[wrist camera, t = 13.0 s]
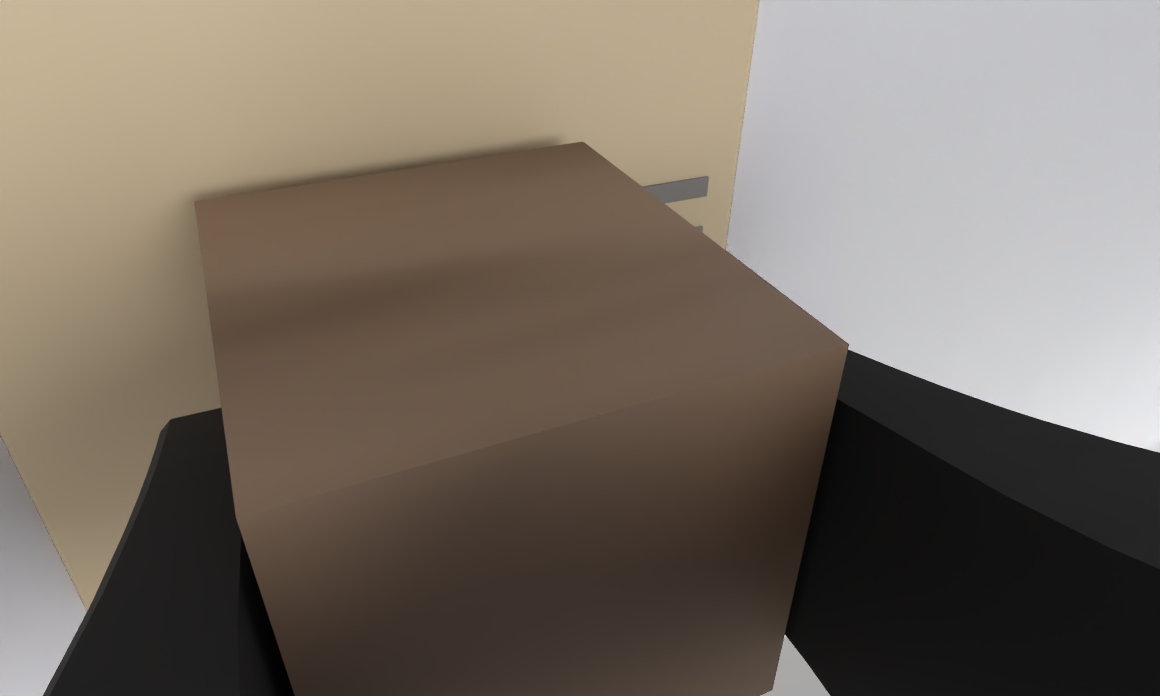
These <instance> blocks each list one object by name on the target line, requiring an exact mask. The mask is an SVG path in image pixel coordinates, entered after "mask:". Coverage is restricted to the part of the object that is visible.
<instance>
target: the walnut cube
mask: <svg viewBox="0 0 1160 696" xmlns="http://www.w3.org/2000/svg"><path fill="white" fill-rule="evenodd" d="M194 205H195V212H196V220H197V227H198V235H199V242H200V250H201V258H202V265H203V273H204V280H205V288H206V295H207V303H208V310H209V318H210V325H211V333H212V340H213V348H214V356H215V363H216V371H217V378H218V386H219V393H220V401H221V408H222V416H223V423H224V431H225V439H226V446H227V454H228V461H229V469H230V476H231V484H232V491H233V499H234V506H235V514H236V519H237V522H238V525H239V528H240V531H241V534H242V537H243V541H244V544H245V547H246V550H247V553H248V556H249V559H250V562H251V565H252V568H253V571H254V574H255V577H256V580H257V583H258V586H259V589H260V592H261V595H262V598H263V601H264V604H265V607H266V610H267V613H268V616H269V619H270V622H271V625H272V628H273V631H274V634H275V637H276V640H277V644H278V647H279V650H280V653H281V656H282V659H283V662H284V665H285V668H286V671H287V674H288V677H289V680H290V683H291V686H292V689H293V692H294V695H295V696H760V695H762V694H765V693H767V692H769V691H771V690H772V689H773V684H774V680H775V675H776V671H777V666H778V661H779V657H780V653H781V648H782V644H783V639H784V635H785V630H786V626H787V621H788V617H789V612H790V608H791V603H792V599H793V594H794V590H795V585H796V581H797V576H798V572H799V567H800V563H801V558H802V554H803V549H804V544H805V540H806V535H807V531H808V526H809V522H810V517H811V513H812V508H813V504H814V499H815V495H816V490H817V486H818V481H819V477H820V472H821V468H822V463H823V459H824V454H825V450H826V445H827V441H828V436H829V432H830V427H831V423H832V418H833V414H834V409H835V405H836V400H837V396H838V391H839V387H840V382H841V378H842V373H843V369H844V364H845V360H846V355H847V351H848V346H849V344H848V343H847V342H845V341H844V340H843V339H841V338H840V337H839V336H837V335H836V334H835V333H833V332H832V331H831V330H829V329H828V328H827V327H826V326H824V325H823V324H822V323H820V322H819V321H818V320H816V319H815V318H814V317H812V316H811V315H810V314H809V313H807V312H806V311H805V310H803V309H802V308H801V307H799V306H798V305H797V304H795V303H794V302H793V301H791V300H790V299H789V298H788V297H786V296H785V295H784V294H782V293H781V292H780V291H778V290H777V289H776V288H774V287H773V286H772V285H771V284H769V283H768V282H767V281H765V280H764V279H763V278H761V277H760V276H759V275H757V274H756V273H755V272H753V271H752V270H751V269H750V268H748V267H747V266H746V265H744V264H743V263H742V262H740V261H739V260H738V259H736V258H735V257H734V256H733V255H731V254H730V253H729V252H727V251H726V250H725V249H723V248H722V247H721V246H719V245H718V244H717V243H715V242H714V241H713V240H712V239H710V238H709V237H708V236H706V235H705V234H704V233H702V232H701V231H700V230H698V229H697V228H696V227H694V226H693V225H692V224H691V223H689V222H688V221H687V220H685V219H684V218H683V217H681V216H680V215H679V214H677V213H676V212H675V211H674V210H672V209H671V208H670V207H668V206H667V205H666V204H664V203H663V202H662V201H660V200H659V199H658V198H656V197H655V196H654V195H653V194H651V193H650V192H649V191H647V190H646V189H645V188H643V187H642V186H641V185H639V184H638V183H637V182H636V181H634V180H633V179H632V178H630V177H629V176H628V175H626V174H625V173H624V172H622V171H621V170H620V169H618V168H617V167H616V166H615V165H613V164H612V163H611V162H609V161H608V160H607V159H605V158H604V157H603V156H601V155H600V154H599V153H598V152H596V151H595V150H594V149H592V148H591V147H590V146H588V145H587V144H586V143H584V142H576V143H570V144H563V145H557V146H550V147H544V148H537V149H531V150H524V151H518V152H512V153H505V154H499V155H492V156H486V157H479V158H473V159H466V160H460V161H453V162H447V163H441V164H434V165H428V166H421V167H415V168H408V169H402V170H395V171H389V172H382V173H376V174H369V175H363V176H357V177H350V178H344V179H337V180H331V181H324V182H318V183H311V184H305V185H298V186H292V187H286V188H279V189H273V190H266V191H260V192H253V193H247V194H240V195H234V196H227V197H221V198H215V199H208V200H202V201H195V202H194Z"/></svg>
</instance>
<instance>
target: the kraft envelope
mask: <svg viewBox="0 0 1160 696" xmlns="http://www.w3.org/2000/svg"><path fill="white" fill-rule="evenodd" d="M758 7H759V0H0V435H1V437H2V439H3V441H4V443H5V445H6V447H7V449H8V451H9V453H10V456H11V458H12V460H13V462H14V464H15V466H16V468H17V470H18V472H19V474H20V476H21V478H22V480H23V482H24V484H25V486H26V488H27V490H28V492H29V494H30V496H31V498H32V500H33V502H34V504H35V506H36V508H37V511H38V513H39V515H40V517H41V519H42V521H43V523H44V525H45V527H46V529H47V531H48V533H49V535H50V537H51V539H52V541H53V543H54V545H55V547H56V549H57V551H58V553H59V555H60V557H61V559H62V561H63V563H64V566H65V568H66V570H67V572H68V574H69V576H70V578H71V580H72V582H73V584H74V586H75V588H76V590H77V592H78V594H79V596H80V598H81V600H82V602H83V604H84V606H85V608H86V610H87V611H88V609H89V607H90V605H91V603H92V601H93V599H94V596H95V594H96V592H97V590H98V588H99V586H100V583H101V581H102V579H103V577H104V575H105V572H106V570H107V568H108V566H109V564H110V561H111V559H112V557H113V555H114V553H115V550H116V548H117V546H118V544H119V542H120V539H121V537H122V535H123V533H124V531H125V528H126V526H127V523H128V521H129V518H130V516H131V513H132V511H133V508H134V506H135V503H136V501H137V499H138V496H139V493H140V491H141V488H142V486H143V483H144V480H145V478H146V475H147V472H148V469H149V466H150V463H151V460H152V457H153V454H154V451H155V448H156V445H157V441H158V438H159V434H160V431H161V430H162V429H163V428H164V426H165V425H166V424H167V423H168V421H169V420H170V419H173V418H177V417H182V416H186V415H191V414H195V413H200V412H204V411H209V410H213V409H217V408H221V401H220V393H219V386H218V378H217V371H216V363H215V356H214V348H213V340H212V333H211V325H210V318H209V310H208V303H207V295H206V288H205V280H204V273H203V265H202V258H201V250H200V242H199V235H198V227H197V220H196V212H195V205H194V202H195V201H202V200H208V199H215V198H221V197H227V196H234V195H240V194H247V193H253V192H260V191H266V190H273V189H279V188H286V187H292V186H298V185H305V184H311V183H318V182H324V181H331V180H337V179H344V178H350V177H357V176H363V175H369V174H376V173H382V172H389V171H395V170H402V169H408V168H415V167H421V166H428V165H434V164H441V163H447V162H453V161H460V160H466V159H473V158H479V157H486V156H492V155H499V154H505V153H512V152H518V151H524V150H531V149H537V148H544V147H550V146H557V145H563V144H570V143H576V142H584V143H586V144H587V145H588V146H590V147H591V148H592V149H594V150H595V151H596V152H598V153H599V154H600V155H601V156H603V157H604V158H605V159H607V160H608V161H609V162H611V163H612V164H613V165H615V166H616V167H617V168H618V169H620V170H621V171H622V172H624V173H625V174H626V175H628V176H629V177H630V178H632V179H633V180H634V181H636V182H637V183H638V184H639V185H641V186H642V187H643V188H645V189H646V190H647V191H649V192H650V193H651V194H653V195H654V196H655V197H656V198H658V199H659V200H660V201H662V202H663V203H664V204H666V205H667V206H668V207H670V208H671V209H672V210H674V211H675V212H676V213H677V214H679V215H680V216H681V217H683V218H684V219H685V220H687V221H688V222H689V223H691V224H692V225H693V226H694V227H696V228H697V229H698V230H700V231H701V232H702V233H704V234H705V235H706V236H708V237H709V238H710V239H712V240H713V241H714V242H715V243H717V244H718V245H719V246H721V247H722V248H723V249H725V248H726V241H727V234H728V226H729V219H730V212H731V204H732V197H733V190H734V182H735V175H736V168H737V161H738V153H739V146H740V139H741V131H742V124H743V117H744V109H745V102H746V95H747V87H748V80H749V73H750V66H751V58H752V51H753V44H754V36H755V29H756V22H757V14H758Z"/></svg>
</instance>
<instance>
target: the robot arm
mask: <svg viewBox="0 0 1160 696" xmlns="http://www.w3.org/2000/svg"><path fill="white" fill-rule="evenodd" d="M785 635H786V636H787V637H788V639H789V640H790V641H791V642H792V644H793V645H794V646H795V648H796V649H797V650H798V652H799V653H800V654H801V655H802V657H803V658H804V659H805V661H806V662H807V663H808V665H809V666H810V667H811V669H812V670H813V672H814V673H815V675H816V676H817V677H818V679H819V680H820V681H821V683H822V684H823V686H824V687H825V689H826V690H827V691H828V693H829V694H830V695H831V696H1160V453H1158V452H1154V451H1150V450H1146V449H1143V448H1139V447H1135V446H1131V445H1127V444H1123V443H1119V442H1116V441H1112V440H1109V439H1105V438H1102V437H1098V436H1095V435H1091V434H1088V433H1084V432H1081V431H1077V430H1074V429H1070V428H1067V427H1063V426H1060V425H1057V424H1053V423H1050V422H1046V421H1043V420H1039V419H1036V418H1033V417H1030V416H1027V415H1024V414H1021V413H1017V412H1014V411H1011V410H1008V409H1005V408H1002V407H999V406H996V405H994V404H991V403H988V402H985V401H982V400H979V399H977V398H974V397H971V396H968V395H965V394H962V393H960V392H957V391H954V390H951V389H948V388H946V387H943V386H940V385H937V384H935V383H932V382H929V381H927V380H924V379H921V378H919V377H916V376H913V375H911V374H908V373H906V372H903V371H900V370H898V369H895V368H893V367H890V366H888V365H885V364H883V363H880V362H878V361H875V360H873V359H870V358H868V357H865V356H863V355H860V354H858V353H855V352H853V351H850V350H848V351H847V355H846V360H845V364H844V369H843V373H842V378H841V382H840V387H839V391H838V396H837V400H836V405H835V409H834V414H833V418H832V423H831V427H830V432H829V436H828V441H827V445H826V450H825V454H824V459H823V463H822V468H821V472H820V477H819V481H818V486H817V490H816V495H815V499H814V504H813V508H812V513H811V517H810V522H809V526H808V531H807V535H806V540H805V544H804V549H803V554H802V558H801V563H800V567H799V572H798V576H797V581H796V585H795V590H794V594H793V599H792V603H791V608H790V612H789V617H788V621H787V626H786V630H785ZM43 696H295V695H294V692H293V689H292V686H291V683H290V680H289V677H288V674H287V671H286V668H285V665H284V662H283V659H282V656H281V653H280V650H279V647H278V644H277V640H276V637H275V634H274V631H273V628H272V625H271V622H270V619H269V616H268V613H267V610H266V607H265V604H264V601H263V598H262V595H261V592H260V589H259V586H258V583H257V580H256V577H255V574H254V571H253V568H252V565H251V562H250V559H249V556H248V553H247V550H246V547H245V544H244V541H243V537H242V534H241V531H240V528H239V525H238V522H237V519H236V514H235V506H234V499H233V491H232V484H231V476H230V469H229V461H228V454H227V446H226V439H225V431H224V423H223V416H222V408H217V409H213V410H209V411H204V412H200V413H195V414H191V415H186V416H182V417H177V418H173V419H170V420H169V421H168V423H167V424H166V425H165V426H164V428H163V429H162V430H161V431H160V434H159V438H158V441H157V445H156V448H155V451H154V454H153V457H152V460H151V463H150V466H149V469H148V472H147V475H146V478H145V480H144V483H143V486H142V488H141V491H140V493H139V496H138V499H137V501H136V503H135V506H134V508H133V511H132V513H131V516H130V518H129V521H128V523H127V526H126V528H125V531H124V533H123V535H122V537H121V539H120V542H119V544H118V546H117V548H116V550H115V553H114V555H113V557H112V559H111V561H110V564H109V566H108V568H107V570H106V572H105V575H104V577H103V579H102V581H101V583H100V586H99V588H98V590H97V592H96V594H95V596H94V599H93V601H92V603H91V605H90V607H89V609H88V611H87V613H86V615H85V617H84V619H83V621H82V623H81V625H80V627H79V629H78V631H77V633H76V634H75V636H74V638H73V640H72V642H71V644H70V646H69V648H68V649H67V651H66V653H65V655H64V657H63V659H62V661H61V663H60V665H59V666H58V668H57V670H56V672H55V674H54V676H53V678H52V680H51V681H50V683H49V685H48V687H47V689H46V691H45V693H44V695H43Z"/></svg>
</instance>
